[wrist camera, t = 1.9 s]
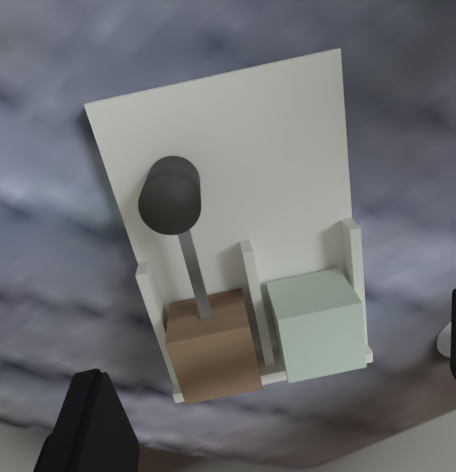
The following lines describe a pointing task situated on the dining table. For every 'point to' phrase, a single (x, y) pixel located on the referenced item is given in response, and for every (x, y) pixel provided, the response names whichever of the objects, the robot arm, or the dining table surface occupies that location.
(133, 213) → the white joystick tray
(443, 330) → the chalice
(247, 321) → the joystick
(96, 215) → the dining table surface
